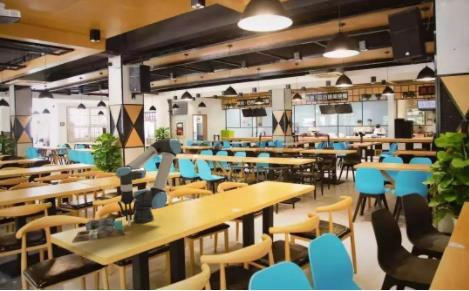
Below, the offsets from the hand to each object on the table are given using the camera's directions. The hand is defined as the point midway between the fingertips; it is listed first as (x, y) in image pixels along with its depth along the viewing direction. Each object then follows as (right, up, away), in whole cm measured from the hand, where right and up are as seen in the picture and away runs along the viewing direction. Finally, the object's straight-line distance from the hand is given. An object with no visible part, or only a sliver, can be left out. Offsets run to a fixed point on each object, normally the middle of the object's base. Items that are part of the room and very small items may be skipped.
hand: (129, 225), depth 239 cm
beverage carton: (-24, -6, +14) cm, 28 cm away
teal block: (-7, -2, -2) cm, 7 cm away
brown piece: (-17, -6, -4) cm, 18 cm away
